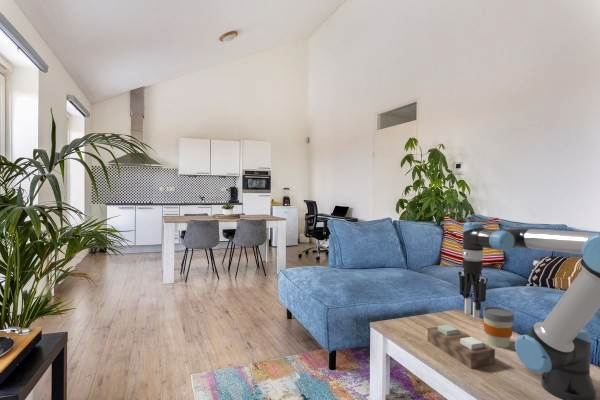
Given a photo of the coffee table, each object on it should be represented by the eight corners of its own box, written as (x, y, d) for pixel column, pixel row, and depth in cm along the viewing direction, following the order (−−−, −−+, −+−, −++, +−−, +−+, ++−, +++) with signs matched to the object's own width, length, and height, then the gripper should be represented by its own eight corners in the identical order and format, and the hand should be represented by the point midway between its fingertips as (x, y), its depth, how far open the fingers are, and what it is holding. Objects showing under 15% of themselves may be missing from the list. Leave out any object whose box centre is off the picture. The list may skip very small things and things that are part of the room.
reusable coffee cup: (501, 352, 148) (502, 318, 147) (476, 340, 159) (476, 308, 159) (519, 346, 153) (520, 313, 152) (494, 335, 164) (494, 305, 164)
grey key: (482, 354, 139) (483, 342, 139) (471, 356, 138) (471, 344, 138) (471, 348, 145) (471, 336, 145) (460, 350, 143) (460, 338, 143)
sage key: (457, 340, 153) (457, 329, 153) (446, 342, 151) (446, 331, 151) (448, 334, 159) (448, 324, 158) (437, 336, 157) (437, 325, 157)
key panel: (494, 363, 138) (494, 349, 137) (471, 368, 134) (471, 353, 134) (448, 337, 162) (448, 325, 162) (427, 340, 159) (427, 328, 159)
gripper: (450, 256, 147) (449, 309, 148) (482, 264, 131) (481, 324, 132) (464, 255, 149) (463, 307, 150) (497, 263, 133) (496, 321, 134)
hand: (471, 315), depth 141 cm, fingers open, 4 cm apart
